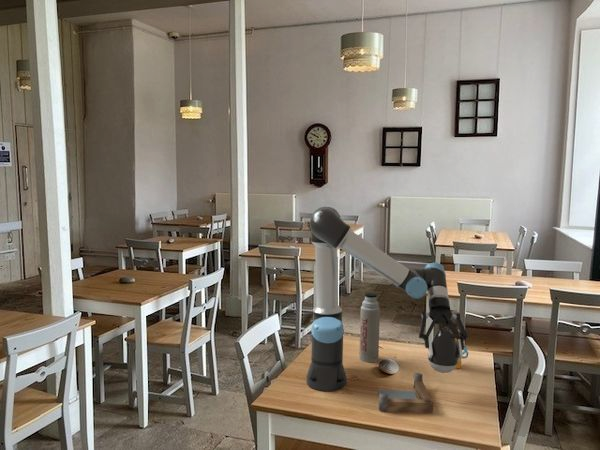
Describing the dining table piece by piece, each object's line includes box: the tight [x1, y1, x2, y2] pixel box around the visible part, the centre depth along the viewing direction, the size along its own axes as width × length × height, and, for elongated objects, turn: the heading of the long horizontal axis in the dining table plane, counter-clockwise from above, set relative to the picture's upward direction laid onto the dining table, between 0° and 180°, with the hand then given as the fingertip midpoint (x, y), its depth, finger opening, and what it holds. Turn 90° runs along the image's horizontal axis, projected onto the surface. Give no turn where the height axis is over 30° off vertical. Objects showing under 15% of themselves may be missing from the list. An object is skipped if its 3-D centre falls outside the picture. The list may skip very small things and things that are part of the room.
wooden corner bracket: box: [378, 372, 434, 414], centre depth 174 cm, size 18×21×5 cm
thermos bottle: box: [358, 292, 381, 363], centre depth 209 cm, size 8×8×28 cm
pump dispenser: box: [427, 328, 460, 374], centre depth 176 cm, size 10×10×15 cm
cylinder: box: [449, 329, 469, 370], centre depth 203 cm, size 12×10×15 cm
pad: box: [377, 389, 418, 399], centre depth 173 cm, size 13×13×1 cm
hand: (445, 357), depth 173 cm, fingers closed on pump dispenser, 9 cm apart
